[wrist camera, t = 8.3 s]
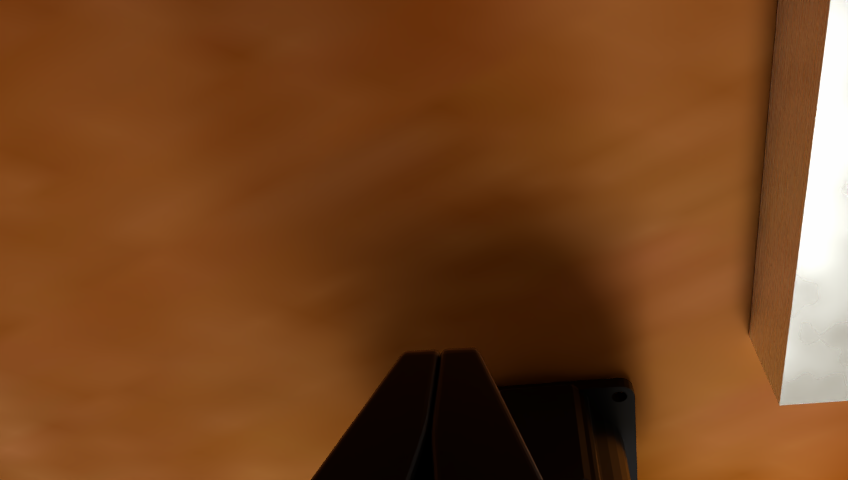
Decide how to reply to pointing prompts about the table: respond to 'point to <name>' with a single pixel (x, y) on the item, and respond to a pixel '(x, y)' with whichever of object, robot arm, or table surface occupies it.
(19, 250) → the table surface
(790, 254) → the console panel
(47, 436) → the table surface
